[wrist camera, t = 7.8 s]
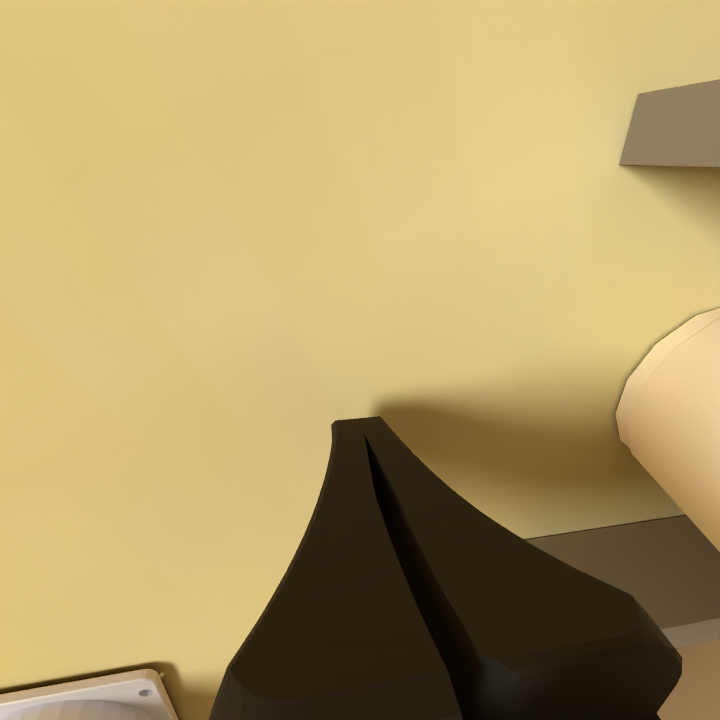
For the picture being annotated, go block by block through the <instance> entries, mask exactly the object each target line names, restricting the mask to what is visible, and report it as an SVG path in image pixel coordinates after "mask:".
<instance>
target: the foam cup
mask: <svg viewBox="0 0 720 720" xmlns="http://www.w3.org/2000/svg"><path fill="white" fill-rule="evenodd" d="M616 420H617V425H618V431H619V436H620V441H622V442H623V443H624V444H625V445H626V446H628V447H629V448H630V449H631V454H632V455H633V456H634V457H635V458H636V459H637V460H638V461H639V462H640V464H641V465H642V466H643V467H644V468H645V469H646V470H647V471H648V473H649V474H650V475H651V476H652V477H653V478H654V479H655V480H656V481H657V483H658V484H659V485H660V486H661V487H662V488H663V489H664V490H665V492H666V493H667V494H668V495H669V496H670V497H671V498H672V499H673V500H674V502H675V503H676V504H677V505H678V506H679V507H680V508H681V509H682V511H683V512H684V513H685V514H686V515H687V516H688V517H689V518H690V519H691V521H692V522H693V523H694V524H695V525H696V526H697V527H698V528H699V529H700V531H701V532H702V533H703V534H704V535H705V536H706V537H707V538H708V540H709V541H710V542H711V543H712V544H713V545H714V546H715V547H716V548H717V550H718V551H719V552H720V308H718V309H715V310H712V311H709V312H705V313H702V314H699V315H696V316H694V317H693V318H692V319H690V320H689V321H687V322H686V323H685V324H683V325H682V326H680V327H679V328H677V329H676V330H675V331H673V332H672V333H670V334H669V335H667V336H666V337H665V338H663V339H662V340H660V341H659V342H658V343H656V344H655V346H654V347H653V348H652V349H651V351H650V352H649V353H648V354H647V356H646V357H645V358H644V359H643V361H642V362H641V363H640V364H639V366H638V367H637V368H636V369H635V371H634V372H633V373H632V374H631V376H630V377H629V378H628V380H627V382H626V385H625V388H624V391H623V394H622V397H621V399H620V402H619V405H618V408H617V411H616Z"/></svg>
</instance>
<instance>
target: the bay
mask: <svg viewBox="0 0 720 720" xmlns="http://www.w3.org/2000/svg"><path fill="white" fill-rule="evenodd" d="M619 165H655V166H697V167H720V79H719V80H714V81H708V82H702V83H697V84H691V85H686V86H680V87H674V88H669V89H663V90H658V91H652V92H646V93H641V94H638V97H637V101H636V105H635V108H634V112H633V116H632V120H631V123H630V127H629V131H628V135H627V138H626V142H625V146H624V150H623V153H622V157H621V161H620V164H619ZM525 541H527V542H528V543H530V544H532V545H534V546H535V547H537V548H539V549H540V550H542V551H544V552H546V553H548V554H550V555H552V556H553V557H555V558H557V559H559V560H561V561H563V562H564V563H566V564H568V565H570V566H572V567H574V568H576V569H578V570H580V571H582V572H584V573H586V574H589V575H591V576H593V577H595V578H597V579H599V580H601V581H603V582H605V583H608V584H610V585H612V586H614V587H616V588H618V589H620V590H622V591H624V592H627V593H629V594H631V595H632V596H633V597H634V598H635V599H636V600H637V602H638V603H639V604H640V605H641V606H642V607H643V609H644V610H645V611H646V612H647V613H648V614H649V616H650V617H651V618H652V619H653V620H654V622H655V623H656V624H657V626H658V627H659V628H660V629H661V631H662V632H663V633H664V635H665V636H666V637H667V639H668V640H669V641H670V642H671V644H672V645H673V646H674V648H678V647H683V646H688V645H693V644H698V643H702V642H707V641H711V640H716V639H720V552H719V551H718V550H717V548H716V547H715V546H714V545H713V544H712V543H711V542H710V541H709V540H708V538H707V537H706V536H705V535H704V534H703V533H702V532H701V531H700V529H699V528H698V527H697V526H696V525H695V524H694V523H693V522H692V521H691V519H690V518H689V517H688V516H687V515H686V516H679V517H673V518H666V519H660V520H653V521H646V522H640V523H633V524H627V525H620V526H614V527H607V528H600V529H594V530H587V531H581V532H574V533H568V534H561V535H555V536H548V537H541V538H535V539H528V540H525Z"/></svg>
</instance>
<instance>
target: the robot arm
mask: <svg viewBox="0 0 720 720" xmlns="http://www.w3.org/2000/svg"><path fill="white" fill-rule="evenodd" d="M331 427H332V446H331V453H330V458H329V462H328V467H327V471H326V475H325V479H324V482H323V485H322V488H321V492H320V495H319V498H318V501H317V504H316V507H315V509H314V512H313V515H312V517H311V520H310V522H309V524H308V527H307V529H306V532H305V534H304V536H303V538H302V540H301V543H300V545H299V547H298V549H297V551H296V553H295V555H294V557H293V559H292V561H291V563H290V565H289V567H288V569H287V571H286V573H285V575H284V577H283V578H282V580H281V582H280V584H279V585H278V587H277V589H276V591H275V592H274V594H273V596H272V598H271V599H270V601H269V603H268V605H267V606H266V608H265V610H264V611H263V613H262V615H261V616H260V618H259V620H258V621H257V623H256V624H255V626H254V627H253V629H252V630H251V632H250V633H249V635H248V636H247V638H246V639H245V641H244V642H243V644H242V645H241V647H240V648H239V650H238V651H237V653H236V654H235V656H234V657H233V659H232V660H231V662H230V663H229V665H228V667H227V669H226V672H225V675H224V677H223V680H222V683H221V685H220V688H219V691H218V694H217V697H216V699H215V702H214V705H213V708H212V711H211V715H210V718H209V720H661V719H660V718H659V716H658V715H657V711H658V710H659V709H660V707H661V706H662V704H663V703H664V702H665V700H666V699H667V697H668V696H669V694H670V693H671V692H672V690H673V689H674V687H675V686H676V684H677V682H678V680H679V678H680V676H681V674H682V657H681V656H680V654H679V653H678V652H677V650H676V649H675V648H674V646H673V645H672V644H671V642H670V641H669V640H668V639H667V637H666V636H665V635H664V633H663V632H662V631H661V629H660V628H659V627H658V626H657V624H656V623H655V622H654V620H653V619H652V618H651V617H650V616H649V614H648V613H647V612H646V611H645V610H644V609H643V607H642V606H641V605H640V604H639V603H638V602H637V600H636V599H635V598H634V597H633V596H632V595H631V594H629V593H627V592H624V591H622V590H620V589H618V588H616V587H614V586H612V585H610V584H608V583H605V582H603V581H601V580H599V579H597V578H595V577H593V576H591V575H589V574H586V573H584V572H582V571H580V570H578V569H576V568H574V567H572V566H570V565H568V564H566V563H564V562H563V561H561V560H559V559H557V558H555V557H553V556H552V555H550V554H548V553H546V552H544V551H542V550H540V549H539V548H537V547H535V546H534V545H532V544H530V543H528V542H527V541H525V540H523V539H522V538H520V537H518V536H517V535H515V534H514V533H512V532H511V531H509V530H507V529H506V528H504V527H503V526H501V525H500V524H498V523H496V522H495V521H493V520H492V519H491V518H489V517H488V516H486V515H485V514H483V513H482V512H480V511H479V510H478V509H476V508H475V507H474V506H472V505H471V504H470V503H468V502H467V501H466V500H464V499H463V498H462V497H461V496H459V495H458V494H457V493H456V492H454V491H453V490H452V489H451V488H450V487H449V486H447V485H446V484H445V483H444V482H443V481H442V480H441V479H440V478H438V477H437V476H436V475H435V474H434V473H433V472H432V471H431V470H430V469H429V468H428V467H427V466H426V465H425V464H424V463H422V462H421V461H420V460H419V459H418V458H417V457H416V456H415V455H414V454H413V453H412V452H411V450H410V449H409V448H408V447H407V446H406V445H405V444H404V443H403V442H402V441H401V440H400V439H399V438H398V436H397V435H396V434H395V433H394V432H393V431H392V430H391V428H390V427H389V426H388V425H387V424H386V423H385V421H384V420H383V419H382V418H381V417H368V418H358V419H348V420H337V421H335V422H334V423H333V424H332V425H331ZM0 720H178V717H177V715H176V713H175V711H174V708H173V706H172V704H171V702H170V699H169V697H168V695H167V692H166V690H165V688H164V686H163V683H162V681H161V679H160V676H159V674H158V673H157V672H156V671H155V670H152V669H141V670H135V671H130V672H124V673H118V674H113V675H107V676H101V677H96V678H90V679H85V680H79V681H73V682H68V683H62V684H56V685H51V686H45V687H39V688H34V689H28V690H22V691H17V692H11V693H5V694H0Z"/></svg>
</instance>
